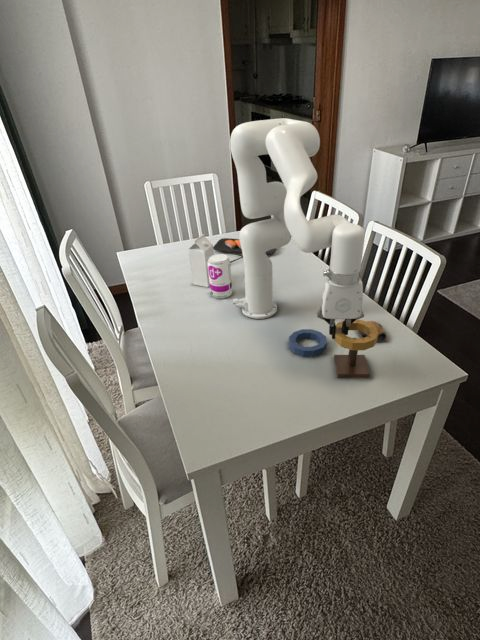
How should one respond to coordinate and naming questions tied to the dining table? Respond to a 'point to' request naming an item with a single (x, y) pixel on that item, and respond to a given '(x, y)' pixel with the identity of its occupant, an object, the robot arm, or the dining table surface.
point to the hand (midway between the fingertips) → (338, 335)
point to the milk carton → (200, 260)
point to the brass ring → (357, 342)
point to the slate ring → (307, 351)
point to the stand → (351, 365)
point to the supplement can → (220, 276)
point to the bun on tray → (380, 332)
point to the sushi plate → (232, 246)
